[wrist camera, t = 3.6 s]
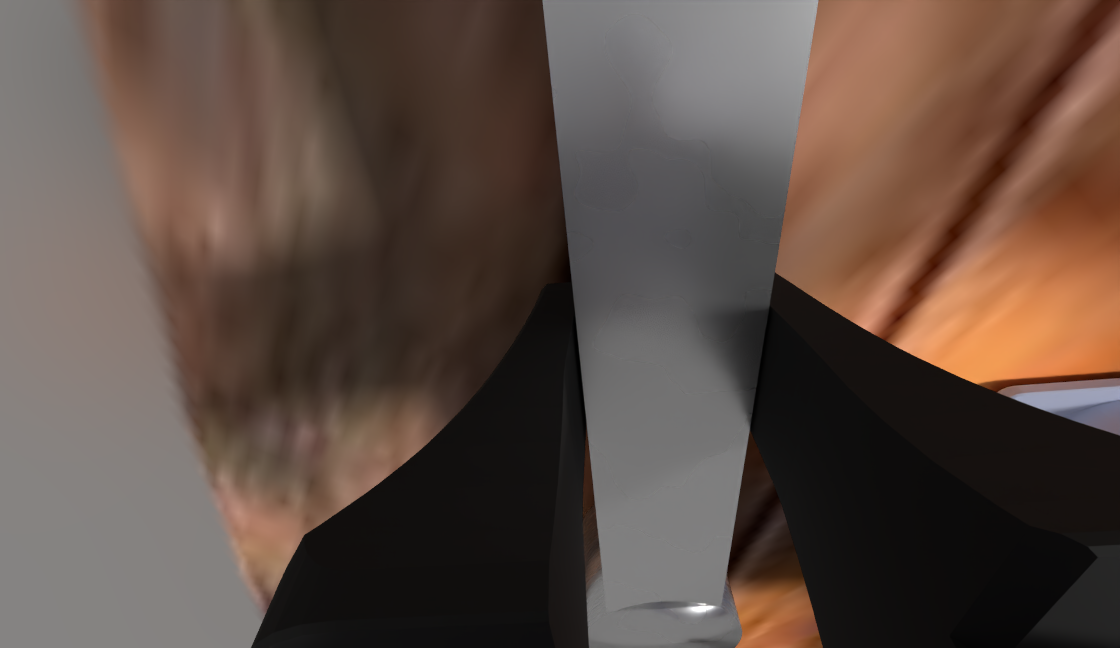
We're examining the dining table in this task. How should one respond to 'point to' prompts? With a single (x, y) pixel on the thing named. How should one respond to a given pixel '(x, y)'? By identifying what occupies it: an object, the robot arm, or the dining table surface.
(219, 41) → the dining table surface
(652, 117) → the grey bar
